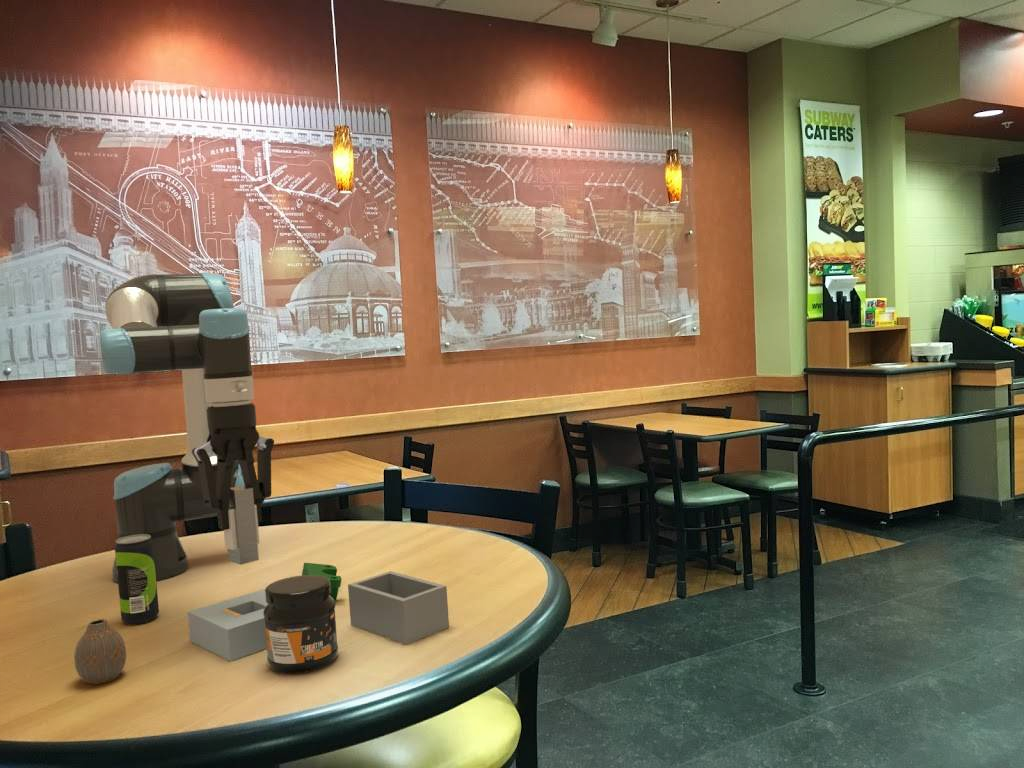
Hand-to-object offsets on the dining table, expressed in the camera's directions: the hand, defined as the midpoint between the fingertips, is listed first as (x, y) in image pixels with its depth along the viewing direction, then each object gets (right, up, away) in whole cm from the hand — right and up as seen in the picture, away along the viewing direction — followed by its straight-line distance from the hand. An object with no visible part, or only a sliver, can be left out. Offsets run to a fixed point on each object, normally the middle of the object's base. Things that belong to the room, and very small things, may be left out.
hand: (242, 545), depth 134 cm
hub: (+1, -16, +1) cm, 16 cm away
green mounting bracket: (+8, -14, +20) cm, 26 cm away
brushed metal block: (0, -3, 0) cm, 3 cm away
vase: (-17, -18, -12) cm, 27 cm away
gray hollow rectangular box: (+26, -14, +2) cm, 29 cm away
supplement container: (+13, -16, -10) cm, 23 cm away
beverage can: (-23, -16, +13) cm, 31 cm away
